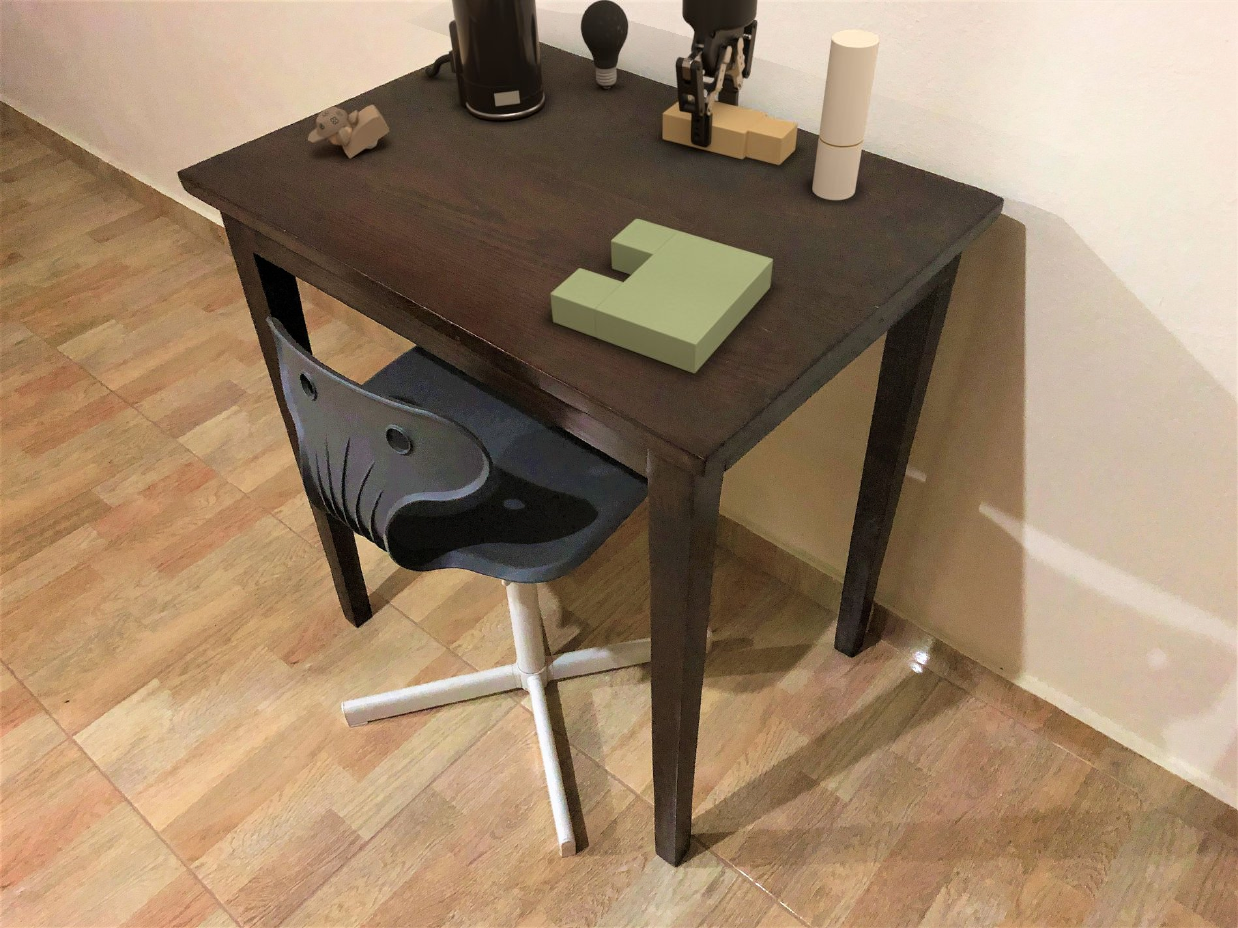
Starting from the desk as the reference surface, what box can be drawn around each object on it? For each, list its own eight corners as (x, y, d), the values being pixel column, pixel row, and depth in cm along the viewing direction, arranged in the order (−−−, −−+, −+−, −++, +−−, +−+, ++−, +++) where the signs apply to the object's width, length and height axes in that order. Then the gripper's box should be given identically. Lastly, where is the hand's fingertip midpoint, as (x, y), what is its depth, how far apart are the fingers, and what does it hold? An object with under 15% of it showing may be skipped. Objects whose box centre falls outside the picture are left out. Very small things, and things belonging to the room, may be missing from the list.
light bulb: (576, 93, 113) (571, 7, 106) (594, 75, 117) (590, -10, 110) (619, 99, 112) (616, 12, 105) (636, 81, 115) (635, -5, 108)
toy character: (332, 165, 106) (297, 123, 102) (389, 125, 106) (357, 82, 101) (338, 181, 104) (303, 139, 99) (396, 140, 103) (364, 96, 99)
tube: (854, 201, 93) (879, 49, 83) (811, 198, 94) (830, 46, 83) (855, 181, 96) (879, 30, 86) (813, 178, 97) (832, 28, 86)
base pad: (552, 322, 80) (549, 293, 78) (636, 246, 89) (636, 218, 87) (694, 374, 75) (695, 344, 73) (770, 287, 83) (773, 258, 81)
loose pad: (662, 139, 104) (662, 113, 102) (686, 120, 107) (686, 94, 105) (776, 168, 99) (779, 141, 96) (798, 147, 102) (801, 120, 100)
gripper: (721, -57, 97) (714, 102, 109) (650, -15, 89) (651, 153, 101) (787, -47, 94) (772, 116, 106) (720, -2, 86) (713, 169, 98)
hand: (714, 133), depth 103 cm, fingers closed on loose pad, 5 cm apart
